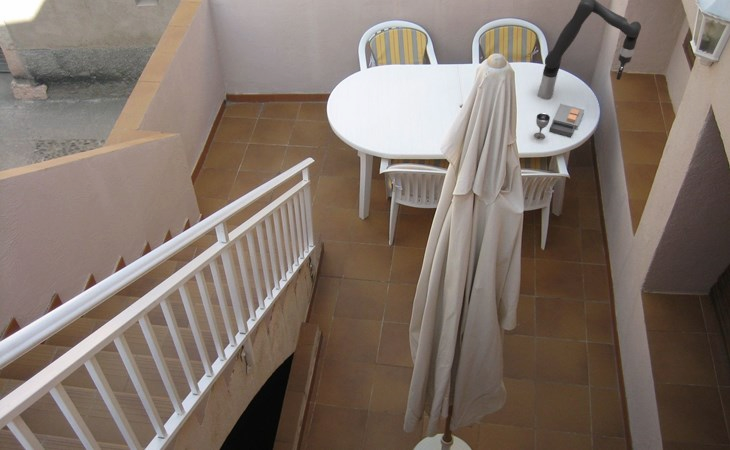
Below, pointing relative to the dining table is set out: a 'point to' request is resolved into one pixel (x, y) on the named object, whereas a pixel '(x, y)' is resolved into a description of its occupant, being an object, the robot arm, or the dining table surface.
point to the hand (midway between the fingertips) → (619, 75)
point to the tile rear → (574, 112)
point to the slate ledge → (564, 113)
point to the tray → (561, 128)
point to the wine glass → (541, 124)
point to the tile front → (571, 118)
